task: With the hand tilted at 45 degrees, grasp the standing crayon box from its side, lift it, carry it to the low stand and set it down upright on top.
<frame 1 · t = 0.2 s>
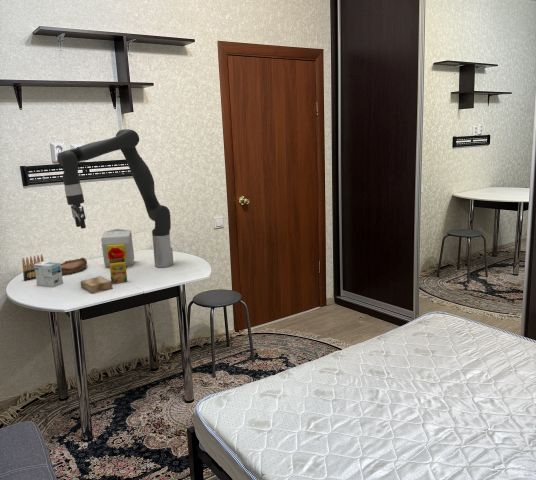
hand: (81, 227, 238), 28 cm above the table, tool pointing down, fingers open, 8 cm apart
stand: (96, 288, 236), on the table
ammunition clip: (35, 278, 255), on the table
crayon box: (119, 282, 244), on the table
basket: (67, 270, 268), on the table
light bulb box: (50, 284, 244), on the table
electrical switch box: (119, 266, 274), on the table
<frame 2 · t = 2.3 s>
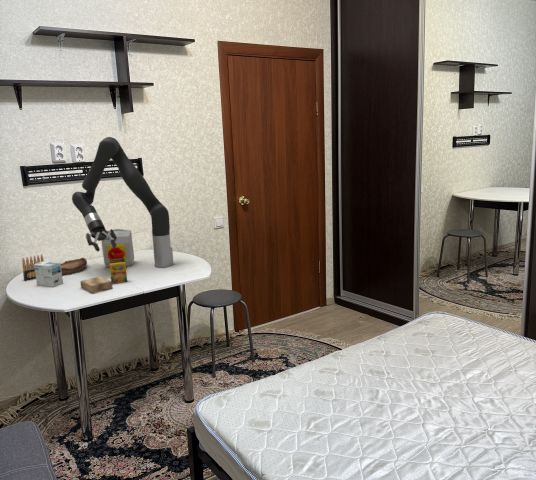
hand: (106, 249, 248), 15 cm above the table, tool tilted 45°, fingers open, 8 cm apart
nothing on the table moved.
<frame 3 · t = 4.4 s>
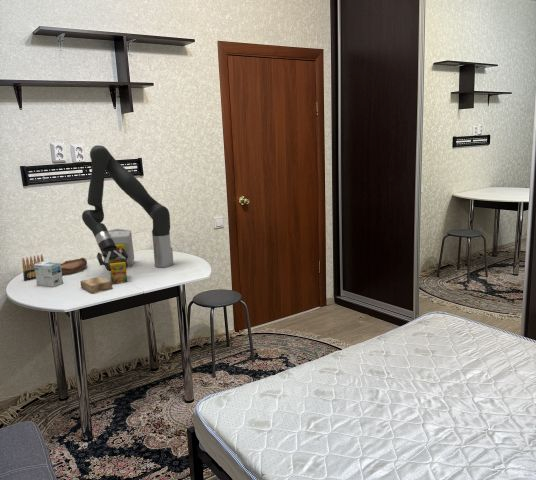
hand: (118, 268, 242), 7 cm above the table, tool tilted 45°, fingers open, 8 cm apart
crayon box: (119, 282, 244), on the table, touching gripper
everything else where it was.
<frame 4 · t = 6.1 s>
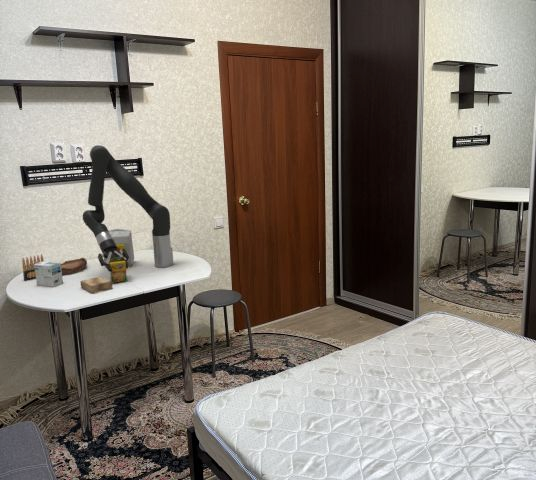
hand: (119, 269, 242), 7 cm above the table, tool tilted 45°, fingers closed on crayon box, 8 cm apart
crayon box: (119, 281, 244), on the table, touching gripper
everything else where it was.
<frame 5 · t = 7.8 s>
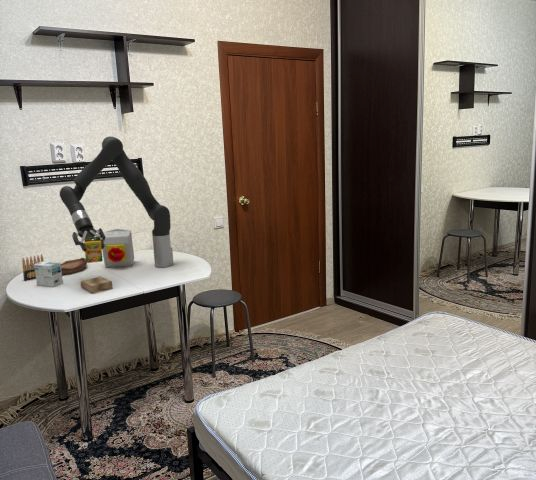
hand: (94, 249, 231), 19 cm above the table, tool tilted 45°, fingers closed on crayon box, 8 cm apart
crayon box: (94, 262, 233), point 13 cm above the table, touching gripper
everything else where it was.
when the fingers open (10 cm above the table, at t = 10.6 s): crayon box stays where it is, resting on stand.
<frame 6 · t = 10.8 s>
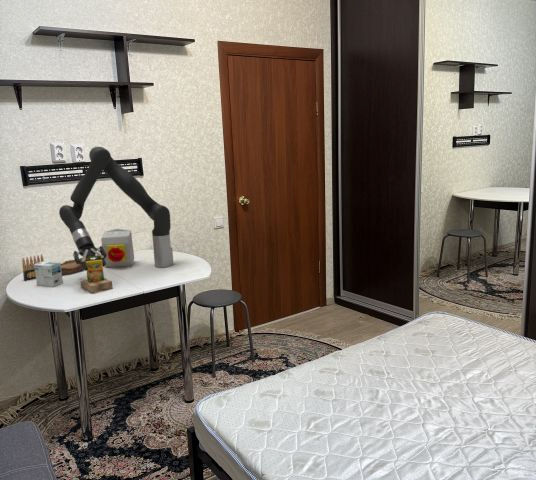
hand: (95, 267, 232), 10 cm above the table, tool tilted 45°, fingers open, 8 cm apart
crayon box: (96, 281, 235), point 4 cm above the table, touching gripper, stand
everything else where it was.
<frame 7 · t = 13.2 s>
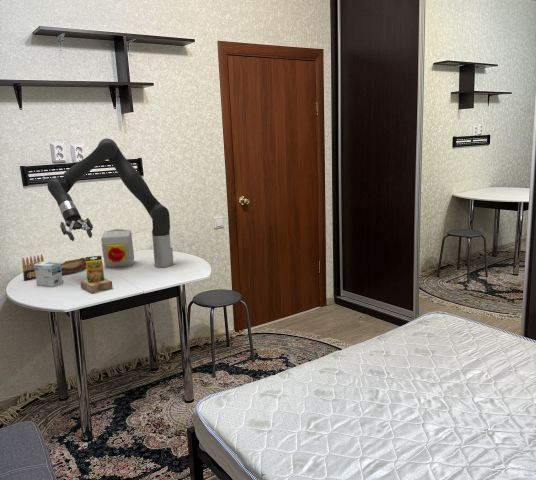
hand: (82, 238, 238), 23 cm above the table, tool tilted 45°, fingers open, 8 cm apart
crayon box: (96, 281, 235), point 3 cm above the table, touching stand
everything else where it was.
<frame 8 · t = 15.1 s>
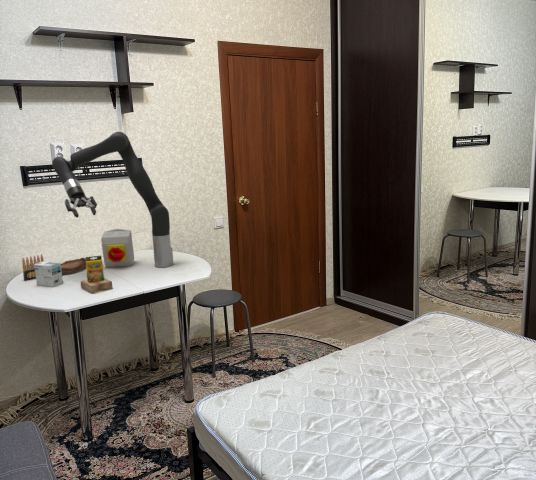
hand: (86, 215, 242), 33 cm above the table, tool tilted 45°, fingers open, 8 cm apart
nothing on the table moved.
at the end: crayon box inside the target area on the stand (0.2 cm from its centre), point 3.5 cm above the stand's base; crayon box touching stand; crayon box tilted 0° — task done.
